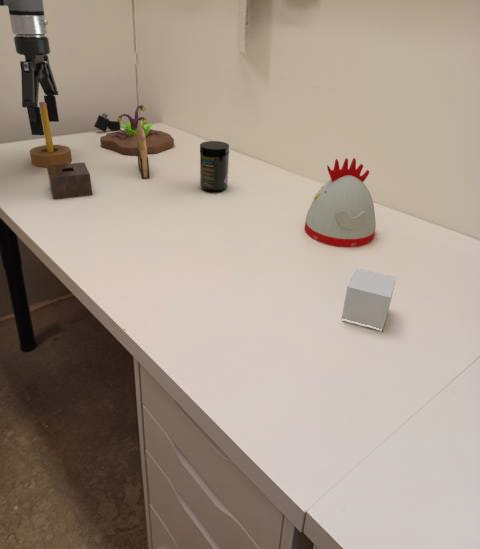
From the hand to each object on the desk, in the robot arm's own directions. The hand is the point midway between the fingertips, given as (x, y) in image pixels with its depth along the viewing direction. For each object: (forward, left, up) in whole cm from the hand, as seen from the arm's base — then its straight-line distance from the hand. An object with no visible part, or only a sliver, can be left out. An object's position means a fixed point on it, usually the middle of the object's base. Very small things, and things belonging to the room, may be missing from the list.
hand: (46, 127), depth 122 cm
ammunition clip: (+25, -7, -9) cm, 27 cm away
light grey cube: (+65, -70, -9) cm, 96 cm away
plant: (+21, +17, -9) cm, 28 cm away
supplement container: (+43, -18, -9) cm, 47 cm away
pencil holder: (+10, -21, -9) cm, 25 cm away
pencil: (0, 0, -9) cm, 9 cm away
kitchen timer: (+68, -41, -9) cm, 80 cm away
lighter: (+9, +32, -9) cm, 34 cm away
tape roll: (0, 0, -9) cm, 9 cm away
